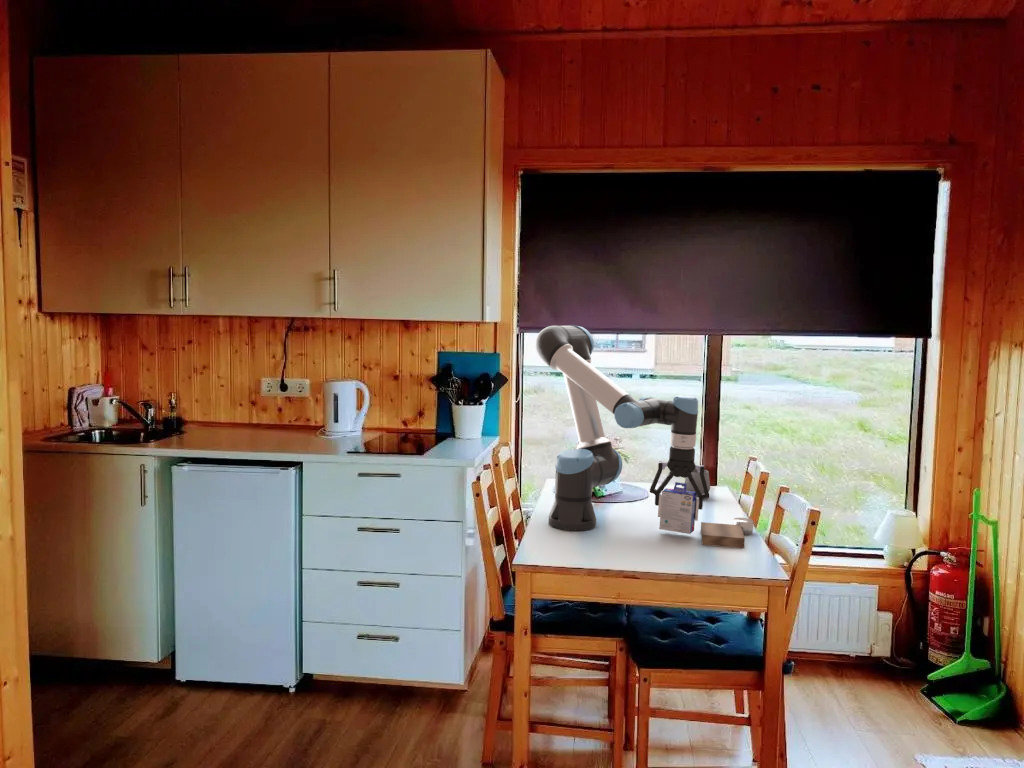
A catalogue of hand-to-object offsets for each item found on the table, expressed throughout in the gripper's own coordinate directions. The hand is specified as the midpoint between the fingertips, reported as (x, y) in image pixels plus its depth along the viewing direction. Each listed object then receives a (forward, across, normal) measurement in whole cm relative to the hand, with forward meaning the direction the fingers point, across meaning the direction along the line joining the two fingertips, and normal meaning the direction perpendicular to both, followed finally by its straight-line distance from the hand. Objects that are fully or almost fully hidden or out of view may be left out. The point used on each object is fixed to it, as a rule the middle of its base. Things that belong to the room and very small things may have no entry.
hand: (677, 517), depth 246 cm
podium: (+5, +14, 0) cm, 15 cm away
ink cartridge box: (+4, 0, 0) cm, 4 cm away
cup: (+6, +8, +52) cm, 53 cm away
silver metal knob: (+6, +20, +10) cm, 23 cm away
